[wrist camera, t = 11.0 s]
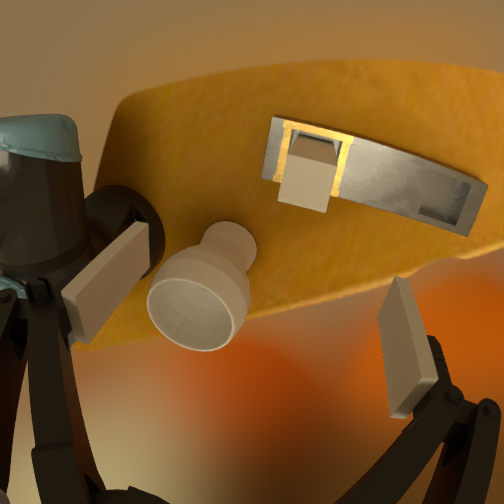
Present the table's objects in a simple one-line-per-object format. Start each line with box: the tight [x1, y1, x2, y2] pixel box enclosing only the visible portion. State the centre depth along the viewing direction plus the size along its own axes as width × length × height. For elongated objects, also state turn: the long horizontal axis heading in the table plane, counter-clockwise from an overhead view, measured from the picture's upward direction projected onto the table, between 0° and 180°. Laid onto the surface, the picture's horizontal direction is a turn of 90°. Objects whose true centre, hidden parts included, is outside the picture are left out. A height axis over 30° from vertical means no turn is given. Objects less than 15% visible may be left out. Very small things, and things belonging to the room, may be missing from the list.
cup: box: [147, 221, 257, 351], centre depth 38 cm, size 11×11×15 cm
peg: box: [277, 133, 338, 213], centre depth 30 cm, size 4×4×12 cm
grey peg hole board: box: [261, 115, 488, 237], centre depth 33 cm, size 26×7×3 cm, turn 80°
